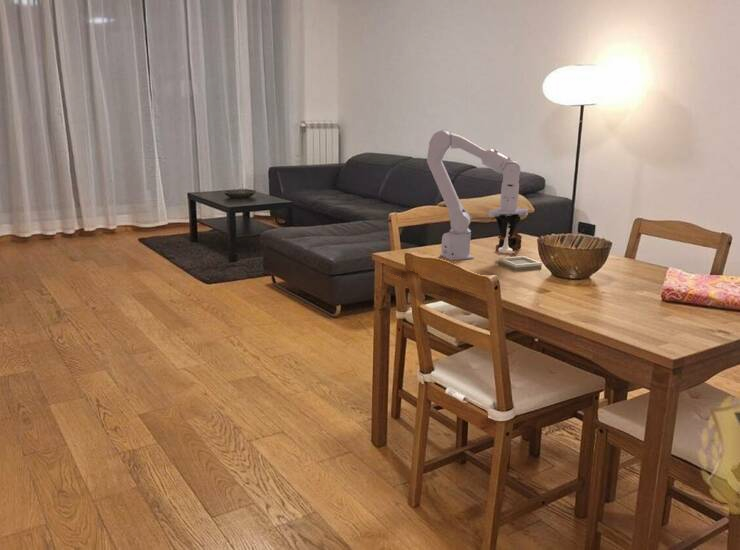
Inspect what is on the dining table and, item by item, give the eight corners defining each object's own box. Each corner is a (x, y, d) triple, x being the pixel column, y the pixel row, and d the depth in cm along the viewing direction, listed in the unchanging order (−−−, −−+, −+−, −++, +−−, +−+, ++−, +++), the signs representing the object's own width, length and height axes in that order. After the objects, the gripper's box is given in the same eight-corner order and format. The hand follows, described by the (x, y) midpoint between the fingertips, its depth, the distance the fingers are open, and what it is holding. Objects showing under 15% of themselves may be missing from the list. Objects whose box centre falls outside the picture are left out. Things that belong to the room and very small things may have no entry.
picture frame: (515, 271, 212) (515, 265, 211) (498, 263, 220) (499, 258, 220) (541, 268, 215) (541, 262, 215) (523, 261, 224) (524, 255, 224)
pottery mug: (488, 250, 242) (495, 230, 243) (508, 260, 246) (514, 239, 247) (508, 249, 231) (515, 227, 232) (528, 259, 235) (535, 237, 236)
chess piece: (506, 253, 222) (508, 224, 219) (495, 250, 225) (497, 222, 222) (515, 251, 225) (517, 222, 222) (504, 248, 228) (506, 220, 226)
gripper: (497, 199, 214) (494, 240, 218) (534, 198, 219) (531, 237, 223) (485, 196, 220) (483, 236, 224) (522, 194, 225) (519, 233, 229)
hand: (506, 236), depth 224 cm, fingers closed on chess piece
